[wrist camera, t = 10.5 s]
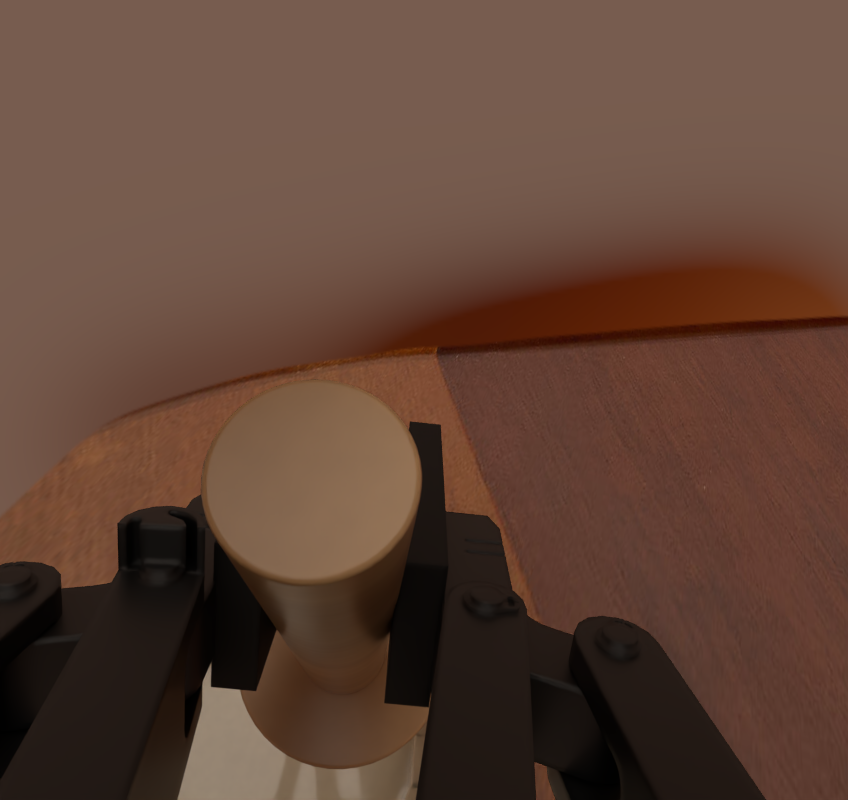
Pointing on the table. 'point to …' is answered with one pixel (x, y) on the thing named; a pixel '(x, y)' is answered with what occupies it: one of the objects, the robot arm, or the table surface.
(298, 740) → the masher
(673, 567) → the table surface
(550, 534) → the table surface
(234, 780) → the bowl
